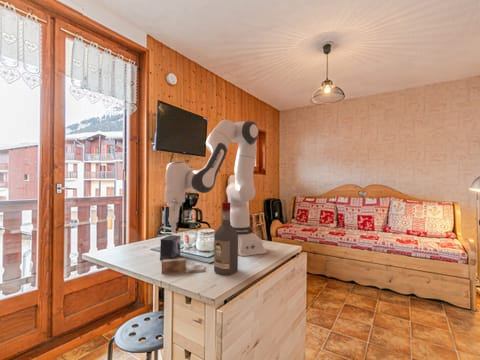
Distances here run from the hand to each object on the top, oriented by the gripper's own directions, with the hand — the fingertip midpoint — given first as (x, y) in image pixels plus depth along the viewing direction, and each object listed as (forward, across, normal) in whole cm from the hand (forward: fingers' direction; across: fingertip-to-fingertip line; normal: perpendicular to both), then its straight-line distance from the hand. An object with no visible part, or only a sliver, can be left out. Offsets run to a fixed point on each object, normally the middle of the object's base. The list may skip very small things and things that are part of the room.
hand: (173, 229), depth 108 cm
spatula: (+18, -1, -5) cm, 18 cm away
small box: (+18, +19, +1) cm, 26 cm away
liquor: (+18, -6, -23) cm, 29 cm away
